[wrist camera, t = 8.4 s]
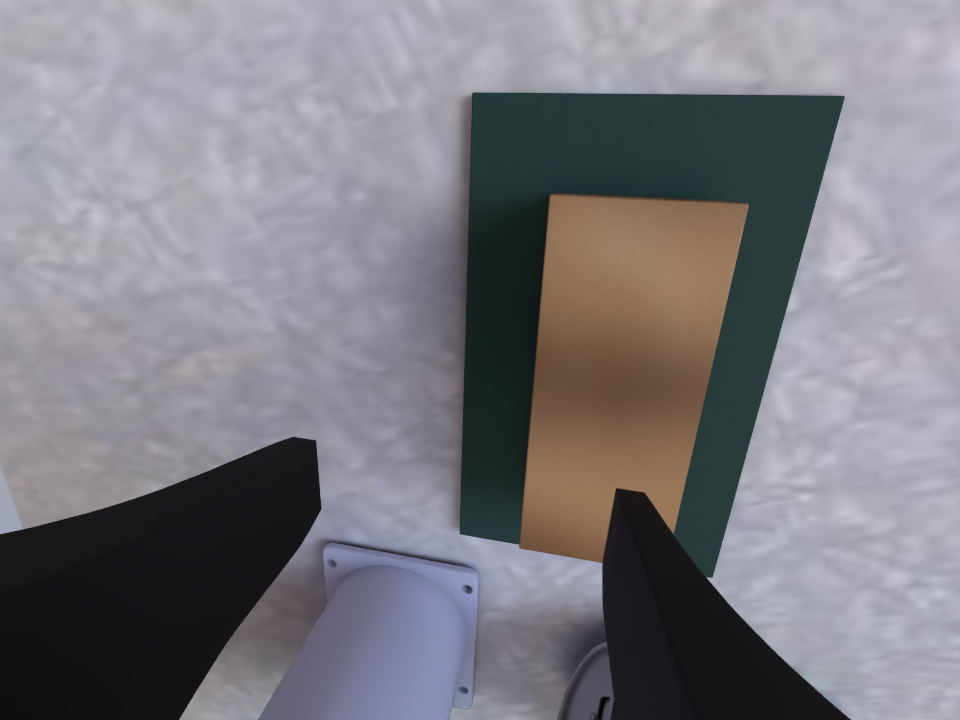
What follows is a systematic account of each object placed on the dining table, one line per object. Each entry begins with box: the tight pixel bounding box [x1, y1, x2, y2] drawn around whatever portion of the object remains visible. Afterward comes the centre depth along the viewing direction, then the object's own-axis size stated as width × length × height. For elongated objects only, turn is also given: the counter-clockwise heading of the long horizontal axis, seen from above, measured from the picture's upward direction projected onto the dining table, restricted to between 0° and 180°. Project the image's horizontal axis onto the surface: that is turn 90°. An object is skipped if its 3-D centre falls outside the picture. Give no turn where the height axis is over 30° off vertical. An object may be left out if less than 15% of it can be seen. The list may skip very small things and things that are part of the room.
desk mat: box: [460, 93, 845, 578], centre depth 18 cm, size 18×11×1 cm, turn 178°
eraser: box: [519, 193, 749, 563], centre depth 16 cm, size 12×5×4 cm, turn 178°
